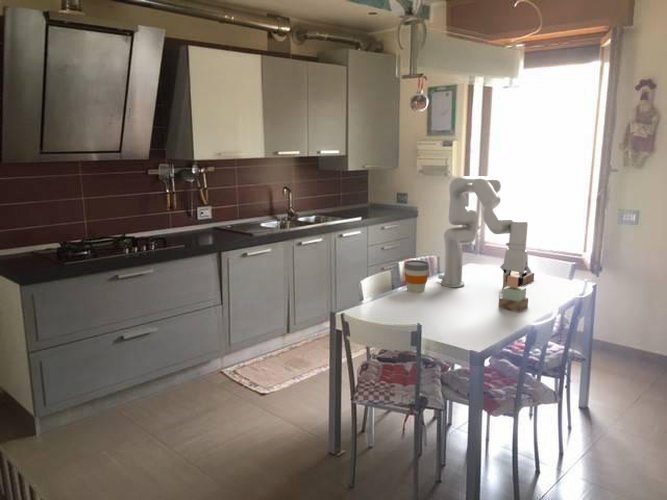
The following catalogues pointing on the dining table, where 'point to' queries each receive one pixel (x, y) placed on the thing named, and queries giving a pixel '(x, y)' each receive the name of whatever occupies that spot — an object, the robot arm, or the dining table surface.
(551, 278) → the dining table surface
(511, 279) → the terracotta cube
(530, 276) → the wooden block set
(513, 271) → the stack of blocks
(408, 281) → the reusable coffee cup
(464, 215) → the robot arm
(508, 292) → the sage tower block
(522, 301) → the walnut tower base
